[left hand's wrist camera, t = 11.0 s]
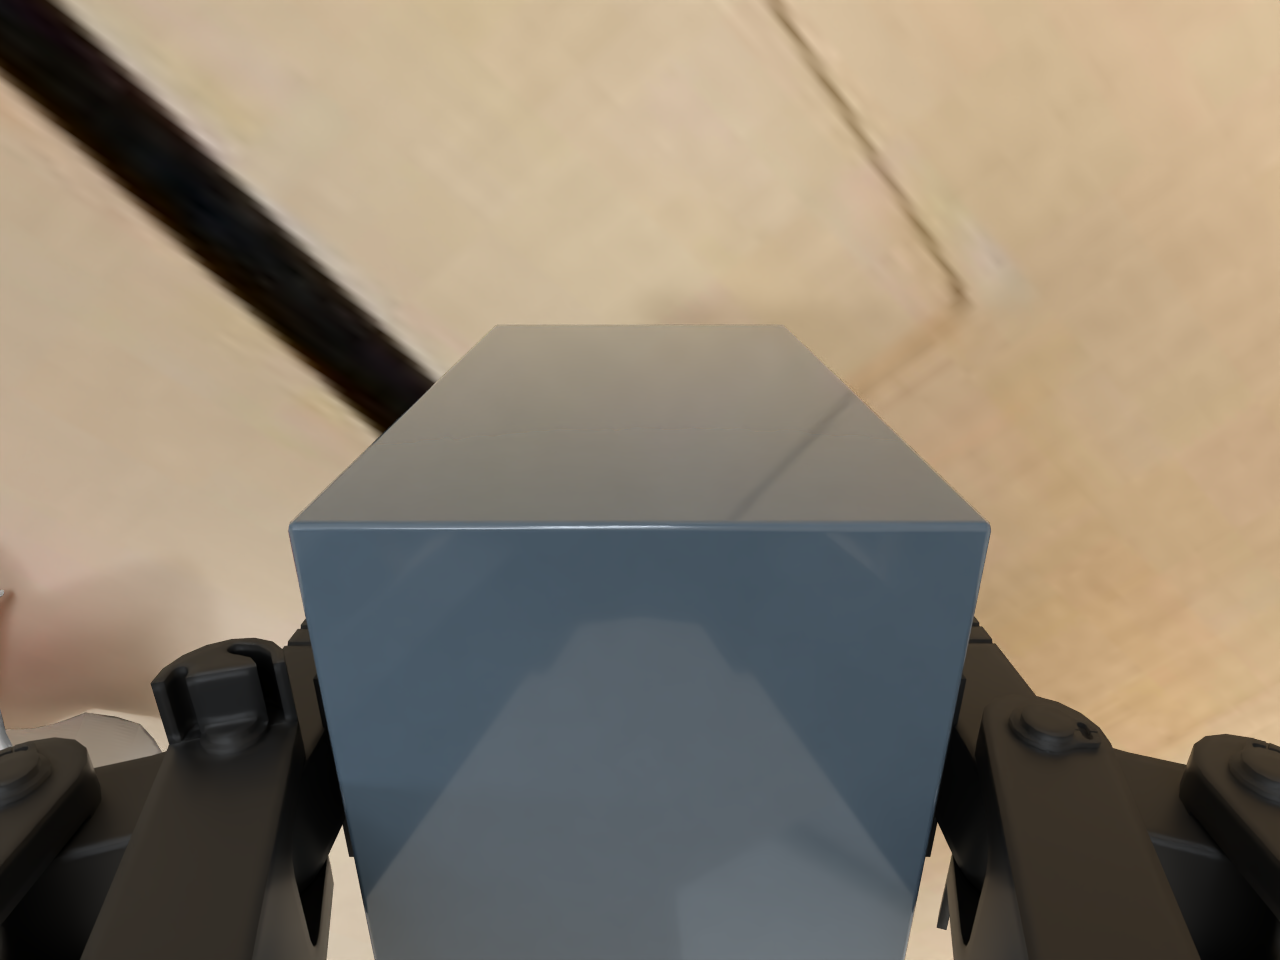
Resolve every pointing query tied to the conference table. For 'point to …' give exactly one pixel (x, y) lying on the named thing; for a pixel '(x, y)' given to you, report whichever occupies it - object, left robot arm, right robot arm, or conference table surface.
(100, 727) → the fish
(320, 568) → the brick
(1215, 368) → the conference table surface
